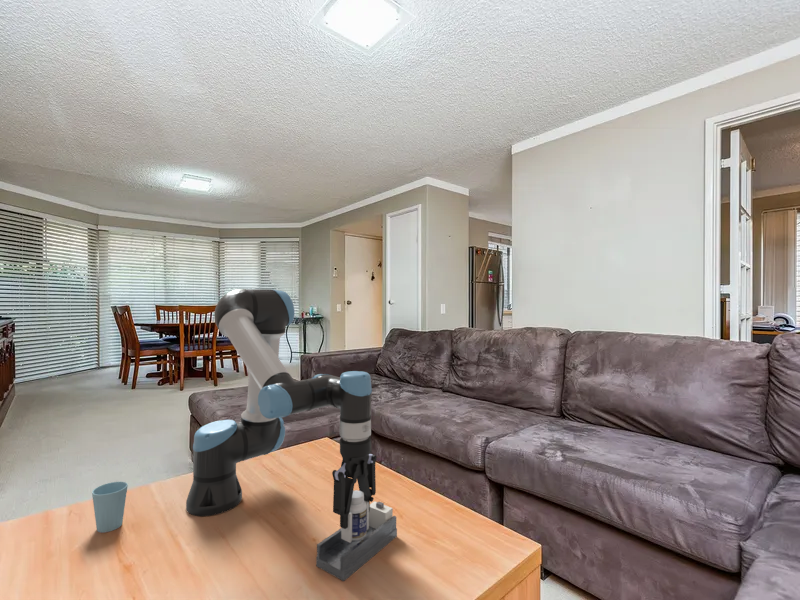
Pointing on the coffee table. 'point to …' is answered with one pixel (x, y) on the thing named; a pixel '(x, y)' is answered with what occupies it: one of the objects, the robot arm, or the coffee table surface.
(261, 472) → the coffee table surface
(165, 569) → the coffee table surface
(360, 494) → the pill bottle
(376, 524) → the mounted module
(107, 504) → the cup
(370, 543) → the rail
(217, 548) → the coffee table surface
